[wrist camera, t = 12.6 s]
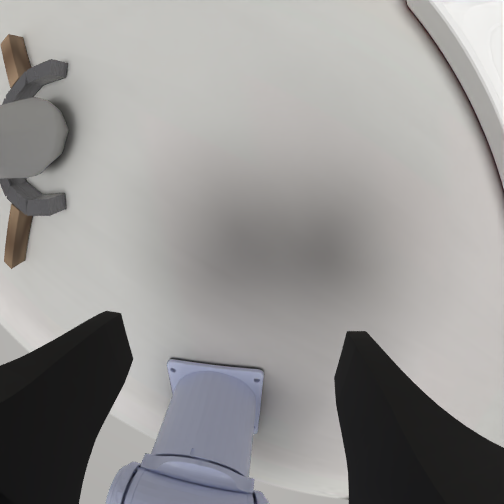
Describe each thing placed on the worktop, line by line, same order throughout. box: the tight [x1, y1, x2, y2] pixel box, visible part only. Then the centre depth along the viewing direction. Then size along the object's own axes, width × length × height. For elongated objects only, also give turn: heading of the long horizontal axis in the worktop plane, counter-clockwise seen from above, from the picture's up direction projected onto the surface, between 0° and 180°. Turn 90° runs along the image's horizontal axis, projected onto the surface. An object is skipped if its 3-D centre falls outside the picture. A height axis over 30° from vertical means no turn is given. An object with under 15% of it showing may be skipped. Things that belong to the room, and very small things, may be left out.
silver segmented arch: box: [0, 59, 68, 216], centre depth 16 cm, size 11×7×2 cm, turn 178°
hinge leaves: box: [1, 34, 33, 269], centre depth 16 cm, size 21×4×2 cm, turn 178°
